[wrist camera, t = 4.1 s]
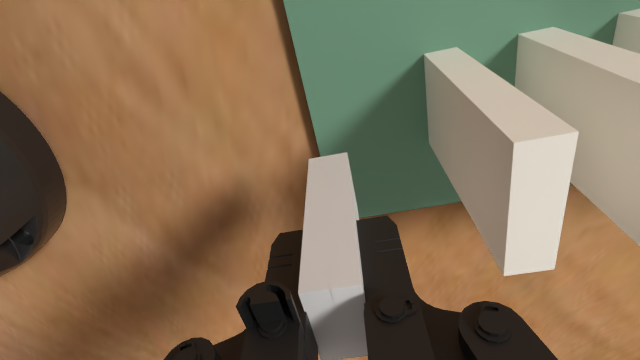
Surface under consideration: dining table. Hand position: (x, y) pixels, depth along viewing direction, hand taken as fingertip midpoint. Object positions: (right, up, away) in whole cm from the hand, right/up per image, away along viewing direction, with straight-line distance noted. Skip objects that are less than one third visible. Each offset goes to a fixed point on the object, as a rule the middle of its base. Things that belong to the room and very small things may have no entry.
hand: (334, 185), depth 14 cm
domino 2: (+10, +5, +4) cm, 12 cm away
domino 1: (+6, +5, +5) cm, 9 cm away
